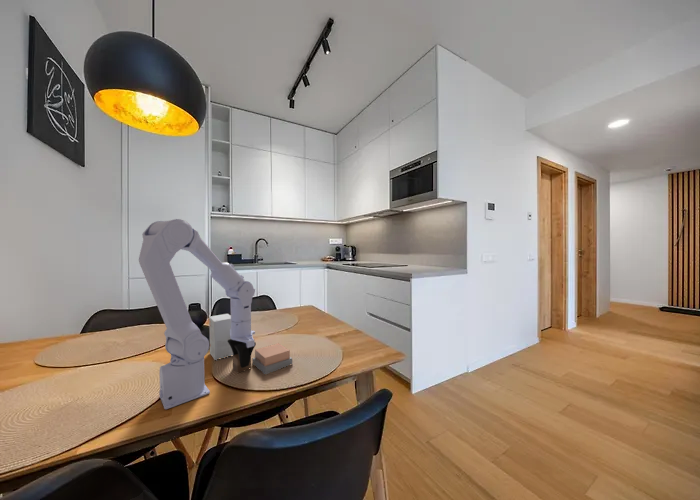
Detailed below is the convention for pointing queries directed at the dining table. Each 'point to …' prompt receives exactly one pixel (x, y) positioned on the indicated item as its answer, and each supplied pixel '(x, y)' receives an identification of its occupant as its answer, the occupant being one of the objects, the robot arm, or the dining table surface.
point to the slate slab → (271, 367)
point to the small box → (220, 336)
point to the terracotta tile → (272, 354)
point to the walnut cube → (237, 364)
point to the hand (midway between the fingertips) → (241, 363)
